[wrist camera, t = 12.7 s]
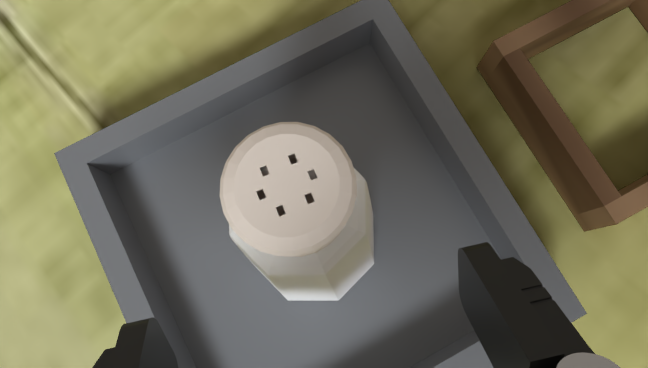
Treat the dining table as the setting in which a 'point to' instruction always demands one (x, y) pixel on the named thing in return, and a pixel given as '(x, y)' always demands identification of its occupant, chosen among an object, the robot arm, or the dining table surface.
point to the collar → (560, 112)
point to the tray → (367, 158)
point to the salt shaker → (299, 211)
